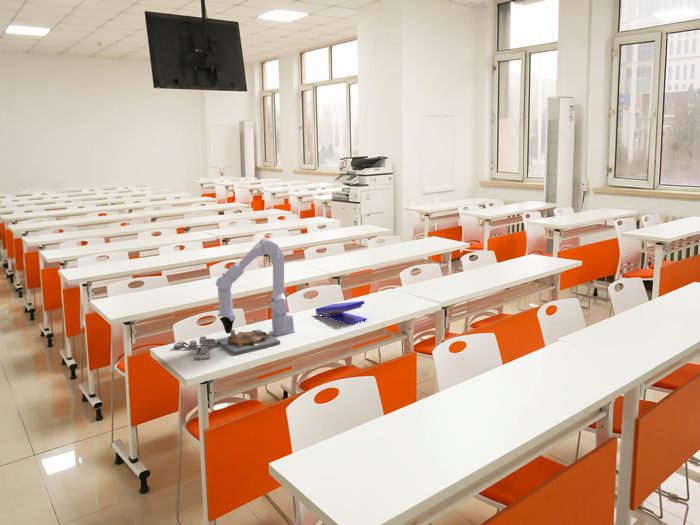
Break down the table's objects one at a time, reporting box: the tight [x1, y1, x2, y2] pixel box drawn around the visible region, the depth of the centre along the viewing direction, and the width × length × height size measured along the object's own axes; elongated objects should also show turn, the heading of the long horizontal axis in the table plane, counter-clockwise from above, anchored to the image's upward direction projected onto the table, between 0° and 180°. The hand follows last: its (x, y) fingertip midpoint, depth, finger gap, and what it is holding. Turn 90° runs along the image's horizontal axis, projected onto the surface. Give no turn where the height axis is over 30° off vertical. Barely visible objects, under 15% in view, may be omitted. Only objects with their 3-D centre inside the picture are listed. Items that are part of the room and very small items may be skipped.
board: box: [215, 329, 281, 356], centre depth 247 cm, size 21×22×2 cm
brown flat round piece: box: [227, 329, 267, 346], centre depth 247 cm, size 17×17×5 cm
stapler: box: [315, 300, 368, 326], centre depth 279 cm, size 12×28×10 cm, turn 41°
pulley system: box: [173, 335, 218, 361], centre depth 242 cm, size 27×5×15 cm
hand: (228, 332), depth 250 cm, fingers closed
